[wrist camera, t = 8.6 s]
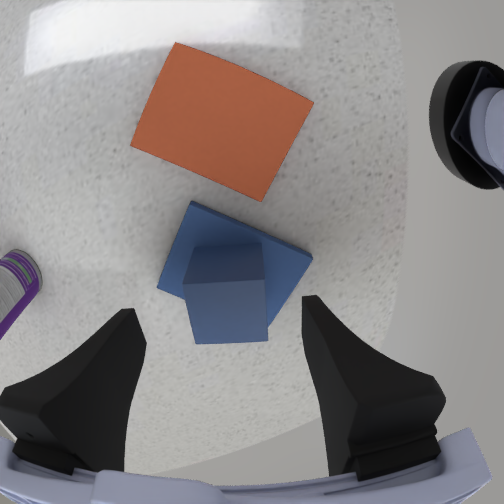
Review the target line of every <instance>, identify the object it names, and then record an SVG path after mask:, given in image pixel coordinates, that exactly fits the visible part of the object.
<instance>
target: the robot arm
mask: <svg viewBox="0 0 504 504" xmlns="http://www.w3.org/2000/svg"><path fill="white" fill-rule="evenodd" d="M487 75H488V77H487ZM459 136H461V139H460V140H459ZM451 137H452V138H453V140H455V141H456V142H457V143H458V144H459V145H460V146H461V147H462V148H463V149H464V150H465V151H466V152H467V153H468V154H469V155H470V156H471V157H472V158H473V159H474V160H475V161H476V162H477V163H478V164H479V165H480V166H481V167H482V168H483V169H484V170H485V171H486V172H487V173H488V174H489V175H490V176H491V177H492V179H493V180H494V181H495V182H496V183H497V184H498V185H499V186H500V187H501V189H502V190H504V87H503V86H502V85H501V84H500V83H499V82H498V80H497V79H496V78H495V77H494V76H493V75H492V74H491V72H490V71H489V70H488V69H487V68H486V67H481V68H480V69H479V72H478V74H477V77H476V79H475V81H474V84H473V86H472V88H471V90H470V93H469V95H468V97H467V99H466V101H465V104H464V106H463V108H462V110H461V112H460V114H459V116H458V118H457V120H456V122H455V124H454V126H453V128H452V130H451ZM501 180H502V181H501ZM302 339H303V345H304V351H305V356H306V359H307V362H308V366H309V369H310V373H311V376H312V379H313V383H314V386H315V389H316V393H317V396H318V401H319V405H320V411H321V417H322V423H323V430H324V437H325V444H326V452H327V460H328V469H329V477H325V478H318V479H312V480H304V481H296V482H288V483H276V484H265V485H241V486H213V485H212V484H208V483H205V482H201V481H197V480H189V479H181V478H168V477H157V476H148V475H140V474H133V473H126V472H124V457H125V441H126V431H127V424H128V417H129V411H130V406H131V402H132V399H133V395H134V392H135V389H136V386H137V382H138V379H139V376H140V373H141V369H142V366H143V363H144V357H145V351H146V345H147V342H146V340H145V337H144V334H143V332H142V329H141V326H140V324H139V321H138V318H137V315H136V312H135V309H134V308H129V309H121V310H120V311H119V312H117V313H116V314H115V315H114V316H113V317H112V318H111V319H110V320H108V321H107V322H106V323H105V324H104V325H103V326H102V327H101V328H100V329H99V330H98V331H97V332H96V333H94V334H93V335H92V336H91V337H90V338H89V339H88V340H86V341H85V342H84V343H83V344H82V345H81V346H80V347H78V348H77V349H76V350H75V351H73V352H72V353H71V354H69V355H68V356H67V357H65V358H64V359H62V360H61V361H59V362H58V363H56V364H55V365H53V366H51V367H50V368H48V369H46V370H45V371H43V372H41V373H39V374H37V375H35V376H33V377H31V378H29V379H26V380H24V381H22V382H19V383H16V384H13V385H11V386H8V387H5V388H4V390H3V392H2V394H1V396H0V420H1V421H2V423H3V424H4V425H5V426H6V427H7V428H8V429H9V430H10V431H11V432H12V433H13V434H14V435H15V436H16V437H17V441H16V443H14V442H12V441H11V440H9V439H6V438H4V437H2V436H0V493H2V494H3V495H4V496H6V497H7V498H9V499H10V500H12V501H14V502H16V503H18V504H460V503H462V502H463V501H465V500H466V499H467V498H469V497H470V496H471V495H473V494H474V493H475V492H477V491H478V490H479V489H481V488H482V487H483V486H484V485H485V484H487V483H488V482H489V481H490V480H492V475H491V472H490V470H489V468H488V465H487V463H486V461H485V459H484V456H483V454H482V452H481V450H480V448H479V445H478V443H477V441H476V439H475V437H474V435H473V433H472V431H471V429H470V428H466V429H463V430H460V431H458V432H456V433H453V434H450V435H448V436H446V437H444V438H442V439H441V440H439V441H438V442H437V439H436V437H435V435H436V434H437V429H436V427H435V425H434V423H435V422H436V420H437V418H438V416H439V415H440V413H441V412H442V410H443V408H444V405H445V403H446V397H445V395H444V394H443V391H442V389H441V388H440V386H439V384H438V383H437V381H436V380H435V378H434V377H433V376H431V375H428V374H425V373H422V372H419V371H416V370H414V369H411V368H409V367H407V366H404V365H402V364H400V363H398V362H396V361H394V360H392V359H390V358H388V357H387V356H385V355H383V354H382V353H380V352H378V351H377V350H375V349H374V348H372V347H371V346H369V345H368V344H367V343H365V342H364V341H362V340H361V339H360V338H359V337H357V336H356V335H355V334H354V333H353V332H352V331H351V330H349V329H348V328H347V327H346V326H345V325H344V324H343V323H342V322H341V321H340V320H339V319H338V318H337V317H336V316H335V315H334V314H333V313H332V312H331V310H330V309H329V308H328V307H327V306H326V305H325V304H324V303H323V301H322V300H321V299H320V298H319V297H318V296H317V295H311V296H302Z"/></svg>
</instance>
